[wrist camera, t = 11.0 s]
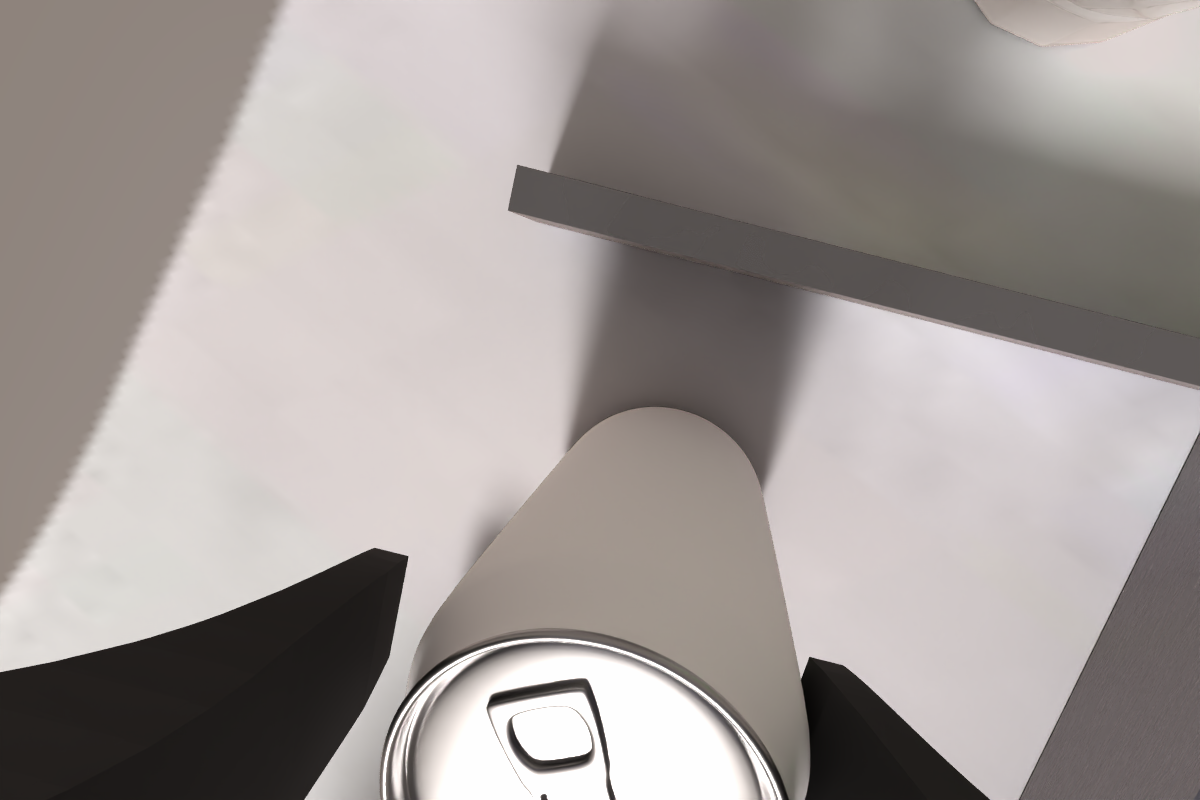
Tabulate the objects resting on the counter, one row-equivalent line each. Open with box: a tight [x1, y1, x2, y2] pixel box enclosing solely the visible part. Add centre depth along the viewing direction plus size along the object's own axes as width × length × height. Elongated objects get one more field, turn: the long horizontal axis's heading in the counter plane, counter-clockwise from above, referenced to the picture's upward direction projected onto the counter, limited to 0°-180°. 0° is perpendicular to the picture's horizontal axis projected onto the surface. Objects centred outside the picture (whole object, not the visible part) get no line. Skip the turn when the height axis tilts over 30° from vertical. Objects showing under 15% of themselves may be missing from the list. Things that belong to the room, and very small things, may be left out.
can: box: [380, 407, 810, 800], centre depth 14 cm, size 6×6×12 cm
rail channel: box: [508, 165, 1200, 800], centre depth 19 cm, size 22×26×4 cm
